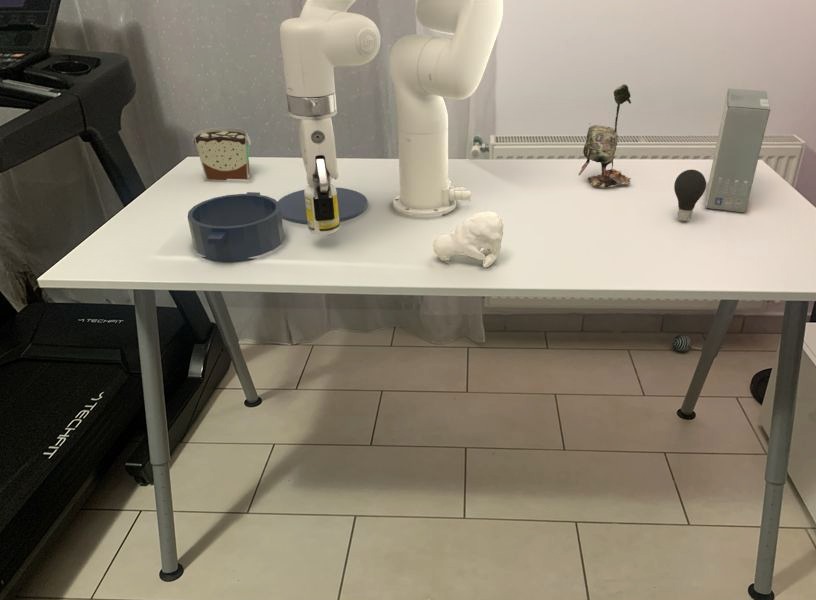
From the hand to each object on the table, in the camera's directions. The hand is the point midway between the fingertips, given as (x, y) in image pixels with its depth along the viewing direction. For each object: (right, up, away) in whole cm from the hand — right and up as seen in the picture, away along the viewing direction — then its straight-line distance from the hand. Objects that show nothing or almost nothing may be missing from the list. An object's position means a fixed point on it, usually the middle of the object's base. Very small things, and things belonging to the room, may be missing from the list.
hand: (322, 211), depth 122 cm
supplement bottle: (0, -3, +2) cm, 3 cm away
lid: (-3, +5, +19) cm, 20 cm away
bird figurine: (+55, +12, +31) cm, 64 cm away
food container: (-26, +14, +35) cm, 46 cm away
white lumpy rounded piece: (+25, -9, 0) cm, 26 cm away
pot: (-16, -4, +6) cm, 17 cm away
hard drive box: (+78, +7, +24) cm, 82 cm away
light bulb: (+66, +1, +14) cm, 68 cm away
